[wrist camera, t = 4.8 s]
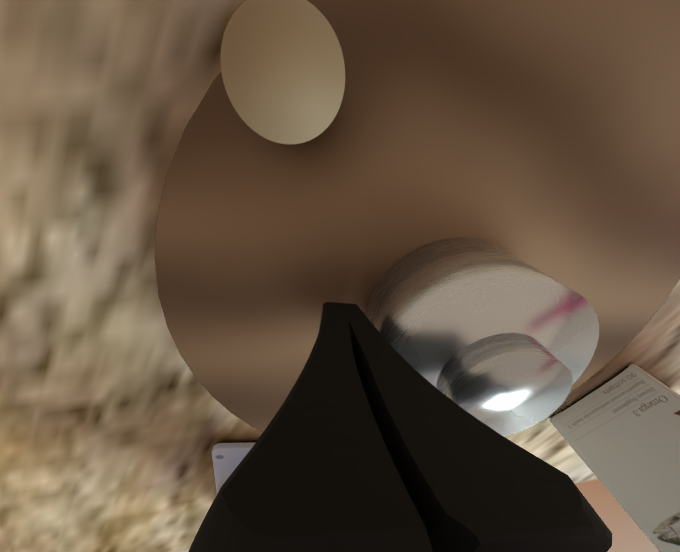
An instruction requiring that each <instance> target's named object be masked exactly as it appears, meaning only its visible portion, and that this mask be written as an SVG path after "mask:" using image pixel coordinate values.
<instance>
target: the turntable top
mask: <svg viewBox="0 0 680 552" xmlns="http://www.w3.org/2000/svg"><path fill="white" fill-rule="evenodd" d="M220 63H221V73H220V74H219V75H218V76H217V77H216V79H215V80H214V81H213V83H212V85H211V86H210V88H209V90H208V91H207V93H206V95H205V96H204V98H203V100H202V101H201V103H200V105H199V106H198V108H197V110H196V111H195V113H194V115H193V116H192V118H191V120H190V121H189V123H188V125H187V126H186V128H185V130H184V133H183V135H182V138H181V140H180V143H179V145H178V148H177V150H176V153H175V155H174V158H173V160H172V163H171V165H170V168H169V170H168V173H167V176H166V180H165V185H164V190H163V194H162V199H161V203H160V208H159V212H158V217H157V228H156V246H155V265H156V274H157V283H158V293H159V298H160V301H161V305H162V308H163V312H164V316H165V319H166V323H167V326H168V329H169V331H170V333H171V335H172V337H173V339H174V342H175V344H176V346H177V348H178V350H179V353H180V354H181V356H182V357H183V359H184V361H185V362H186V364H187V365H188V367H189V368H190V370H191V371H192V373H193V374H194V376H195V377H196V378H197V379H198V381H199V382H200V383H201V384H202V385H203V386H204V387H205V388H206V390H207V391H208V392H209V393H210V394H211V395H212V396H213V397H214V398H215V399H216V400H217V401H218V402H220V403H221V404H222V405H223V406H224V407H225V408H226V409H228V410H229V411H230V412H231V413H232V414H234V415H235V416H237V417H239V418H240V419H242V420H243V421H245V422H246V423H248V424H249V425H251V426H252V427H254V428H256V429H258V430H260V431H262V432H264V430H265V429H266V428H267V426H268V425H269V423H270V422H271V420H272V419H273V418H274V416H275V415H276V413H277V412H278V410H279V409H280V407H281V406H282V404H283V403H284V401H285V400H286V398H287V396H288V395H289V393H290V391H291V390H292V388H293V386H294V385H295V383H296V381H297V379H298V378H299V376H300V374H301V372H302V370H303V368H304V366H305V364H306V362H307V360H308V358H309V356H310V353H311V351H312V349H313V346H314V344H315V342H316V339H317V336H318V333H319V328H320V321H321V315H322V308H323V304H324V303H325V302H337V303H350V304H357V305H358V307H359V308H360V309H361V310H362V312H363V313H364V314H365V310H366V306H367V302H368V299H369V297H370V294H371V292H372V290H373V289H374V287H375V285H376V283H377V282H378V281H379V279H380V278H381V277H382V275H383V274H384V273H385V272H386V271H387V270H388V269H389V268H390V267H391V266H392V265H393V264H394V263H396V262H397V261H398V260H399V259H400V258H402V257H403V256H405V255H407V254H408V253H410V252H411V251H413V250H415V249H417V248H419V247H421V246H423V245H426V244H429V243H431V242H434V241H438V240H442V239H447V238H455V237H470V238H477V239H482V240H485V241H488V242H490V243H493V244H495V245H497V246H498V247H500V248H502V249H504V250H505V251H507V252H509V253H510V254H512V255H514V256H515V257H517V258H519V259H521V260H522V261H524V262H526V263H527V264H529V265H531V266H533V267H534V268H536V269H538V270H539V271H541V272H543V273H545V274H546V275H548V276H550V277H551V278H553V279H555V280H556V281H558V282H560V283H562V284H563V285H565V286H567V287H568V288H570V289H572V290H574V291H575V292H577V293H578V294H580V295H581V296H582V297H584V298H585V299H586V300H587V301H588V302H589V303H590V304H591V306H592V307H593V308H594V311H595V313H596V315H597V318H598V322H599V338H598V343H597V347H596V349H595V352H594V355H593V357H592V359H591V360H590V362H589V364H588V366H587V367H586V369H585V370H584V372H583V373H582V374H581V376H580V377H579V378H578V379H577V380H576V381H575V383H574V384H573V385H572V388H571V391H573V390H574V389H576V388H577V387H579V386H580V385H581V384H583V383H584V382H585V381H587V380H588V379H589V378H590V377H592V376H593V375H594V374H595V373H597V372H598V371H599V370H601V369H602V368H603V367H604V366H605V365H606V364H607V363H608V362H610V361H611V360H612V359H613V358H614V357H615V356H616V355H617V354H618V353H620V352H621V351H622V350H623V349H624V348H625V347H626V346H627V344H628V343H629V342H630V341H631V340H632V339H633V338H634V337H635V336H636V335H637V334H638V333H639V332H640V331H641V330H642V329H643V327H644V326H645V325H646V324H647V323H648V321H649V320H650V319H651V318H652V316H653V315H654V314H655V313H656V312H657V310H658V309H659V308H660V307H661V305H662V304H663V303H664V301H665V300H666V298H667V297H668V295H669V294H670V292H671V291H672V289H673V288H674V286H675V285H676V284H677V282H678V281H679V279H680V0H246V1H244V2H243V3H242V4H241V5H240V6H239V7H238V8H237V9H236V11H235V12H234V13H233V15H232V16H231V18H230V20H229V22H228V24H227V26H226V29H225V31H224V35H223V39H222V44H221V55H220ZM571 391H570V392H571Z"/></svg>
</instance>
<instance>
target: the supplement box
mask: <svg viewBox="0 0 680 552" xmlns="http://www.w3.org/2000/svg"><path fill="white" fill-rule="evenodd" d="M550 421H551V423H552V424H553V425H554V427H555V428H556V429H557V430H558V431H559V433H560V434H561V435H562V436H563V437H564V439H565V440H566V441H567V442H568V443H569V445H570V446H571V447H572V448H573V449H574V451H575V452H576V453H577V454H578V455H579V456H580V458H581V459H582V460H583V461H584V462H585V463H586V465H587V466H588V467H589V468H590V469H591V471H592V472H593V473H594V474H595V475H596V477H597V478H598V479H599V480H600V481H601V482H602V484H603V485H604V486H605V487H606V489H607V490H608V491H609V492H610V493H611V494H612V496H613V497H614V498H615V499H616V500H617V501H618V503H619V504H620V505H621V506H622V507H623V509H624V510H625V511H626V512H627V513H628V514H629V516H630V517H631V518H632V519H633V521H634V522H635V523H636V524H637V525H638V527H639V528H640V529H641V530H642V531H643V532H644V534H645V535H646V536H647V537H648V538H649V540H650V541H651V542H652V543H653V544H654V546H655V547H656V548H657V549H658V550H659V552H680V395H679V394H677V393H676V392H675V391H673V390H672V389H670V388H669V387H667V386H666V385H665V384H663V383H662V382H660V381H659V380H657V379H656V378H654V377H653V376H651V375H650V374H648V373H647V372H646V371H644V370H643V369H641V368H640V367H638V366H637V365H635V364H630V365H629V366H628V367H627V368H626V369H625V370H624V371H623V372H622V373H620V374H619V375H617V376H616V377H614V378H613V379H612V380H610V381H609V382H607V383H606V384H604V385H603V386H601V387H600V388H598V389H597V390H595V391H594V392H592V393H590V394H589V395H587V396H586V397H584V398H583V399H581V400H580V401H578V402H576V403H575V404H573V405H572V406H570V407H569V408H567V409H566V410H564V411H562V412H560V413H558V414H556V415H554V416H553V417H551V419H550Z"/></svg>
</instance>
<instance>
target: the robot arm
mask: <svg viewBox="0 0 680 552" xmlns="http://www.w3.org/2000/svg"><path fill="white" fill-rule="evenodd" d="M212 460H213V468H214V476H215V484H216V496H215V499H214V501H213V503H212V505H211V507H210V509H209V511H208V513H207V515H206V516H205V518H204V520H203V522H202V524H201V526H200V528H199V530H198V532H197V534H196V536H195V539H194V541H193V543H192V545H191V547H190V550H189V552H607V551H608V550H609V548H610V547H611V546H612V533H611V531H610V530H609V529H608V528H607V526H606V525H605V524H604V522H603V521H602V520H601V518H600V517H599V516H598V514H597V513H596V512H595V510H594V509H593V508H592V506H591V505H590V504H589V503H588V501H587V500H586V499H585V497H584V496H583V495H582V493H581V492H580V491H579V490H578V488H577V487H576V485H575V484H574V483H573V481H572V480H571V479H570V478H569V476H568V475H566V474H565V473H563V472H561V471H559V470H558V469H556V468H554V467H553V466H551V465H549V464H548V463H546V462H544V461H543V460H541V459H539V458H538V457H536V456H534V455H533V454H531V453H529V452H528V451H526V450H524V449H523V448H521V447H519V446H518V445H516V444H514V443H513V442H511V441H510V440H508V439H507V438H505V437H503V436H502V435H500V434H499V433H497V432H496V431H494V430H493V429H491V428H490V427H488V426H487V425H485V424H484V423H482V422H481V421H480V420H478V419H477V418H475V417H474V416H473V415H471V414H470V413H468V412H467V411H466V410H464V409H463V408H462V407H460V406H459V405H458V404H456V403H455V402H454V401H452V400H451V399H450V398H448V397H447V396H446V395H444V394H443V393H442V392H441V391H440V390H438V389H437V388H436V387H435V386H433V385H432V384H431V383H430V382H429V381H428V380H426V379H425V378H424V377H423V376H422V375H421V374H420V373H419V372H417V371H416V370H415V369H414V368H413V367H412V366H411V365H410V364H409V363H408V362H407V361H406V360H405V359H404V358H403V357H402V356H401V355H400V354H399V353H398V352H397V351H396V350H395V349H394V348H393V347H392V346H391V345H390V344H389V343H388V341H387V340H386V339H385V338H384V337H383V336H382V335H381V334H380V332H379V331H378V330H377V329H376V328H375V326H374V325H373V324H372V323H371V321H370V320H369V319H368V318H367V317H366V315H365V314H364V313H363V312H362V310H361V309H360V308H359V307H358V305H357V304H350V303H337V302H325V303H324V304H323V308H322V315H321V321H320V328H319V333H318V336H317V339H316V342H315V344H314V346H313V349H312V351H311V353H310V356H309V358H308V360H307V362H306V364H305V366H304V368H303V370H302V372H301V374H300V376H299V378H298V379H297V381H296V383H295V385H294V386H293V388H292V390H291V391H290V393H289V395H288V396H287V398H286V400H285V401H284V403H283V404H282V406H281V407H280V409H279V410H278V412H277V413H276V415H275V416H274V418H273V419H272V420H271V422H270V423H269V425H268V426H267V428H266V429H265V430H264V432H263V433H262V435H261V436H260V438H259V439H258V440H257V442H252V443H218V444H215V445H214V446H213V449H212Z"/></svg>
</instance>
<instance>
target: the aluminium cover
mask: <svg viewBox="0 0 680 552" xmlns="http://www.w3.org/2000/svg"><path fill="white" fill-rule="evenodd" d="M365 315H366V317H367V318H368V319H369V320H370V321H371V323H372V324H373V325H374V326H375V328H376V329H377V330H378V331H379V332H380V334H381V335H382V336H383V337H384V338H385V339H386V340H387V341H388V343H389V344H390V345H391V346H392V347H393V348H394V349H395V350H396V351H397V352H398V353H399V354H400V355H401V356H402V357H403V358H404V359H405V360H406V361H407V362H408V363H409V364H410V365H411V366H412V367H413V368H414V369H415V370H416V371H417V372H419V373H420V374H421V375H422V376H423V377H424V378H425V379H426V380H428V381H429V382H430V383H431V384H432V385H433V386H435V387H436V388H437V389H438V390H440V391H441V392H442V393H443V394H444V395H446V396H447V397H448V398H450V399H451V400H452V401H454V402H455V403H456V404H458V405H459V406H460V407H462V408H463V409H464V410H466V411H467V412H468V413H470V414H471V415H473V416H474V417H475V418H477V419H478V420H480V421H481V422H482V423H484V424H485V425H487V426H488V427H490V428H491V429H493V430H494V431H496V432H497V433H499V434H500V435H502V436H503V437H505V436H509V435H512V434H515V433H518V432H521V431H523V430H526V429H528V428H530V427H532V426H534V425H536V424H538V423H539V422H541V421H542V420H544V419H545V418H547V417H548V416H550V415H551V414H552V413H553V412H554V411H556V410H557V409H558V408H559V407H560V406H561V404H562V403H563V402H564V401H565V399H566V398H567V396H568V395H569V393H570V391H571V388H572V385H573V384H574V383H575V381H576V380H577V379H578V378H579V377H580V376H581V374H582V373H583V372H584V370H585V369H586V367H587V366H588V364H589V362H590V360H591V359H592V357H593V355H594V352H595V349H596V347H597V343H598V338H599V322H598V318H597V315H596V313H595V311H594V308H593V307H592V306H591V304H590V303H589V302H588V301H587V300H586V299H585V298H584V297H582V296H581V295H580V294H578V293H577V292H575V291H574V290H572V289H570V288H568V287H567V286H565V285H563V284H562V283H560V282H558V281H556V280H555V279H553V278H551V277H550V276H548V275H546V274H545V273H543V272H541V271H539V270H538V269H536V268H534V267H533V266H531V265H529V264H527V263H526V262H524V261H522V260H521V259H519V258H517V257H515V256H514V255H512V254H510V253H509V252H507V251H505V250H504V249H502V248H500V247H498V246H497V245H495V244H493V243H490V242H488V241H485V240H482V239H477V238H470V237H455V238H447V239H442V240H438V241H434V242H431V243H429V244H426V245H423V246H421V247H419V248H417V249H415V250H413V251H411V252H410V253H408V254H407V255H405V256H403V257H402V258H400V259H399V260H398V261H397V262H396V263H394V264H393V265H392V266H391V267H390V268H389V269H388V270H387V271H386V272H385V273H384V274H383V275H382V277H381V278H380V279H379V281H378V282H377V283H376V285H375V287H374V289H373V290H372V292H371V294H370V297H369V299H368V302H367V306H366V310H365Z"/></svg>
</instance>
